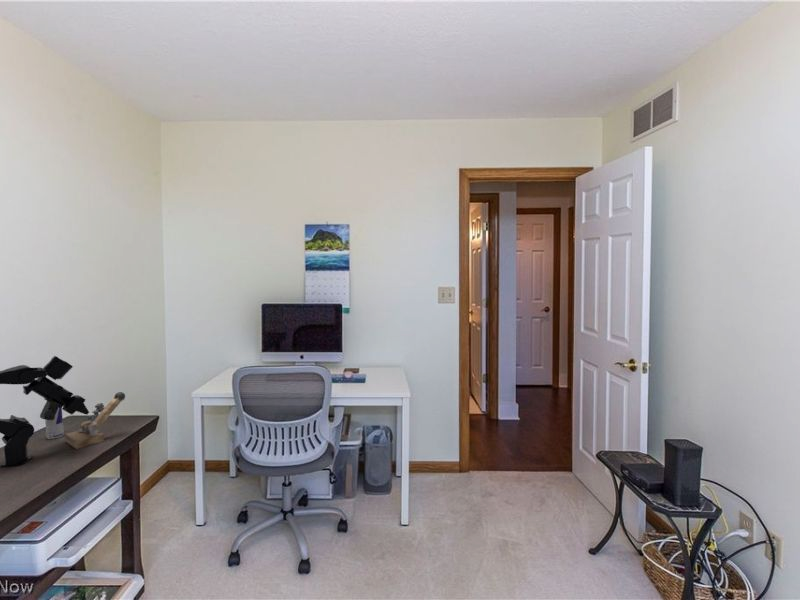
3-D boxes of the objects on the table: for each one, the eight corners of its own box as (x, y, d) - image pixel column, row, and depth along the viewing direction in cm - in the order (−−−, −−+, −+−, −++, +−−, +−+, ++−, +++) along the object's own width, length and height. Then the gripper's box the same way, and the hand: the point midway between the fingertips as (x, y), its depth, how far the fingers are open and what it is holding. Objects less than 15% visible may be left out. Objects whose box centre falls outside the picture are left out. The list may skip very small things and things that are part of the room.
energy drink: (67, 434, 182) (64, 404, 181) (56, 439, 176) (53, 408, 176) (54, 434, 182) (52, 404, 181) (43, 439, 177) (40, 408, 176)
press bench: (76, 448, 166) (74, 429, 166) (65, 441, 173) (64, 423, 173) (104, 441, 173) (102, 422, 173) (93, 434, 180) (91, 417, 180)
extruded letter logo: (101, 412, 210) (100, 400, 209) (105, 412, 210) (104, 399, 210) (83, 430, 186) (82, 417, 186) (88, 430, 186) (87, 416, 186)
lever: (87, 430, 170) (121, 391, 178) (83, 428, 172) (117, 389, 181) (95, 435, 172) (128, 396, 181) (91, 433, 174) (125, 394, 183)
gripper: (23, 405, 164) (62, 427, 173) (38, 415, 152) (79, 438, 161) (48, 379, 169) (85, 402, 179) (65, 386, 158) (103, 410, 167)
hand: (87, 413), depth 171 cm, fingers closed
